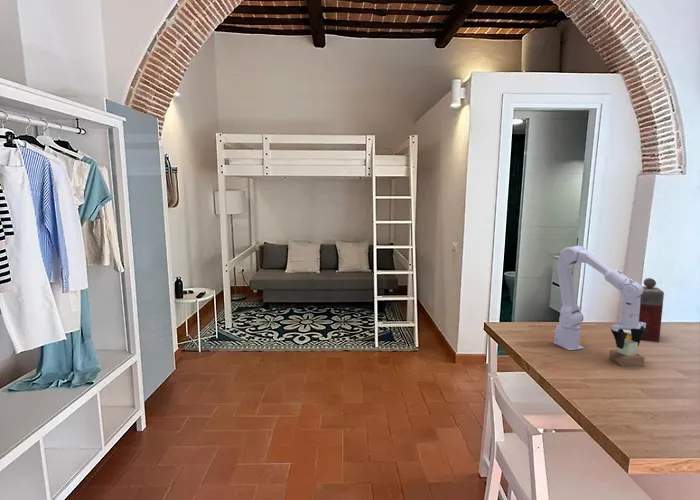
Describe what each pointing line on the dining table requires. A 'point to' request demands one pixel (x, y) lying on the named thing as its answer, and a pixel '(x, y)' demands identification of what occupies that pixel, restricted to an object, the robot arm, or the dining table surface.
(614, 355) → the walnut block
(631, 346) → the sage block
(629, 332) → the supplement bottle
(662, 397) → the dining table surface
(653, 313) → the red lidded box
